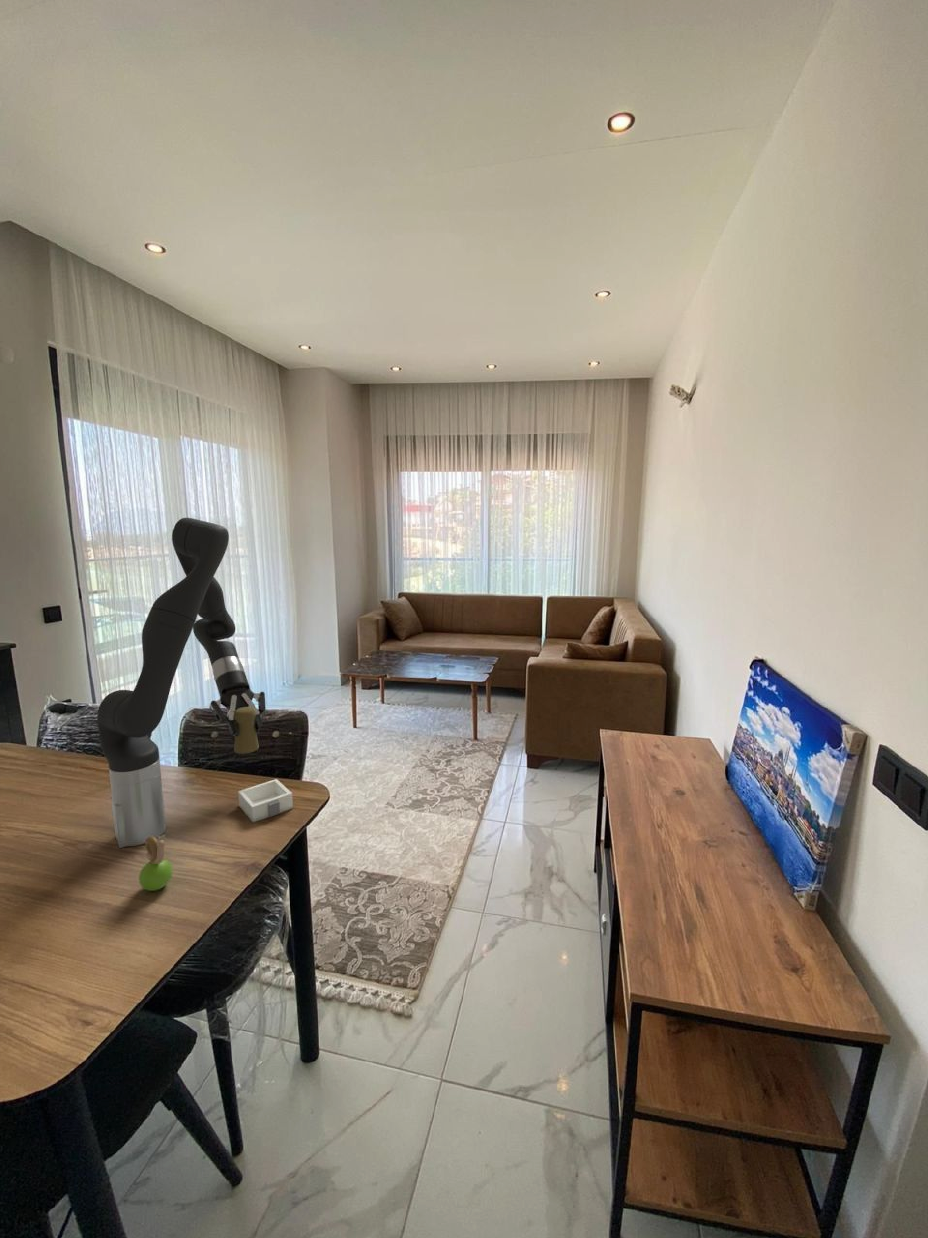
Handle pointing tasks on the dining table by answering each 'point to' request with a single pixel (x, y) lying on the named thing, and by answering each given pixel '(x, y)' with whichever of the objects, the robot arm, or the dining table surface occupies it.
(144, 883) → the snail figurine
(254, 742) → the cork
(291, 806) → the box
